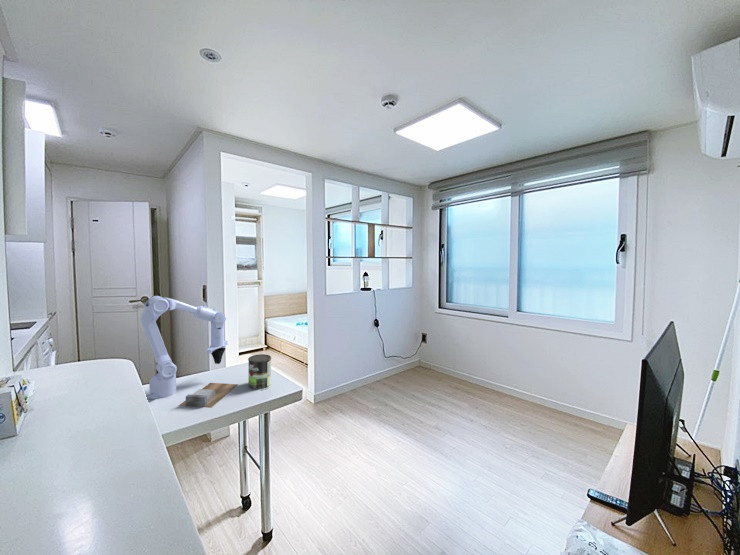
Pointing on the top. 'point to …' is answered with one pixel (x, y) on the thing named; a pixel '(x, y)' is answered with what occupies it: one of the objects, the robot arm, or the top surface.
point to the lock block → (206, 394)
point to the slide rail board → (218, 392)
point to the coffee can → (259, 371)
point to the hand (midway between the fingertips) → (217, 363)
